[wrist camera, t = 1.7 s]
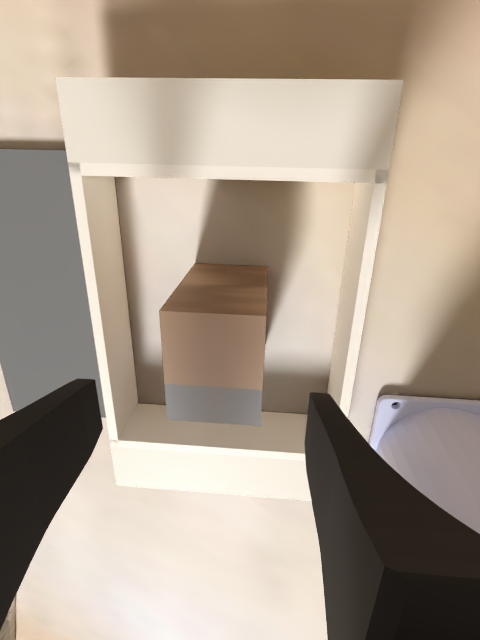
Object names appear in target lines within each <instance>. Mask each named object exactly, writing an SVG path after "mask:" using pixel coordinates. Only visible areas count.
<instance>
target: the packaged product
mask: <svg viewBox="0 0 480 640" xmlns="http://www.w3.org/2000/svg"><path fill="white" fill-rule="evenodd" d="M0 640H15V597H14V600H13V602H12V605H11V607H10V609H9V612H8V614H7V616H6V619H5V621H4V623H3V626H2V628H1V631H0Z"/></svg>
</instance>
